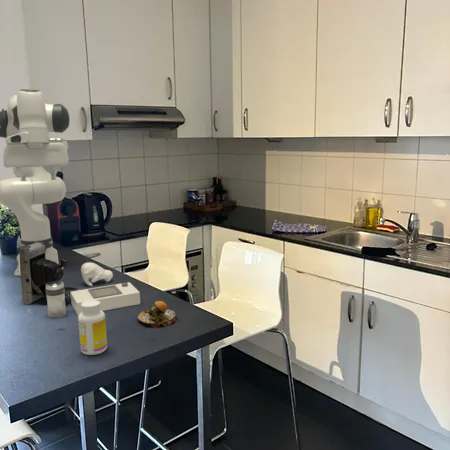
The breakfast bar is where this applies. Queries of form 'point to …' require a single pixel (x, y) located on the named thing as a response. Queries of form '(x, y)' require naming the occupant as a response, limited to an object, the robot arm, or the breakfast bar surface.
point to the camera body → (107, 296)
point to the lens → (55, 299)
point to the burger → (158, 315)
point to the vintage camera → (38, 272)
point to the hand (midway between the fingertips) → (38, 180)
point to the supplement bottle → (92, 328)
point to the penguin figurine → (94, 273)
